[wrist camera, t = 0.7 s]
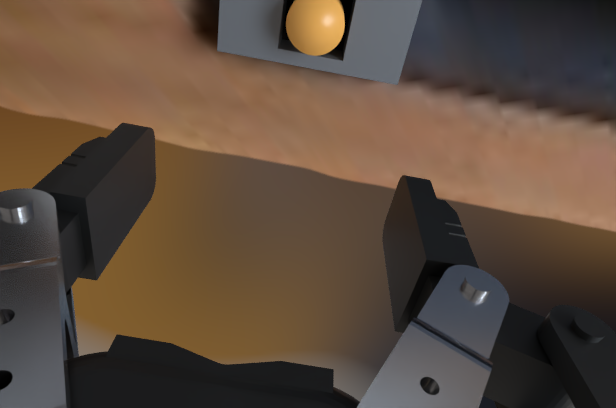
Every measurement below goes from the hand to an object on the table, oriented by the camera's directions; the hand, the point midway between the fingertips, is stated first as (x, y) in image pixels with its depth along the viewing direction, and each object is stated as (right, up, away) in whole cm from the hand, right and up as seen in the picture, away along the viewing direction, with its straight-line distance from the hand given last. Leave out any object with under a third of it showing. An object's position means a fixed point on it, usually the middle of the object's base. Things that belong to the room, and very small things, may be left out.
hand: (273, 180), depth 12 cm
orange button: (+2, +13, +20) cm, 24 cm away
